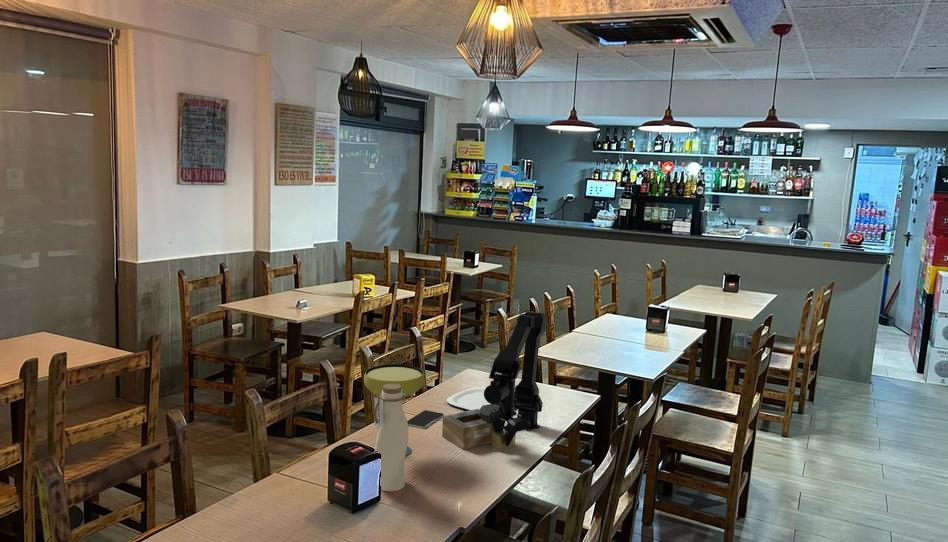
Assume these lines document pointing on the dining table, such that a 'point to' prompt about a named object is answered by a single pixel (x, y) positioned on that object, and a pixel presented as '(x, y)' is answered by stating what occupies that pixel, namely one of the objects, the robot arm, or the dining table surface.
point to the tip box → (467, 429)
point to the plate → (469, 399)
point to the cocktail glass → (394, 380)
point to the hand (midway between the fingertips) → (502, 443)
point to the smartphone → (424, 419)
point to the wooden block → (501, 441)
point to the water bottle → (391, 436)
